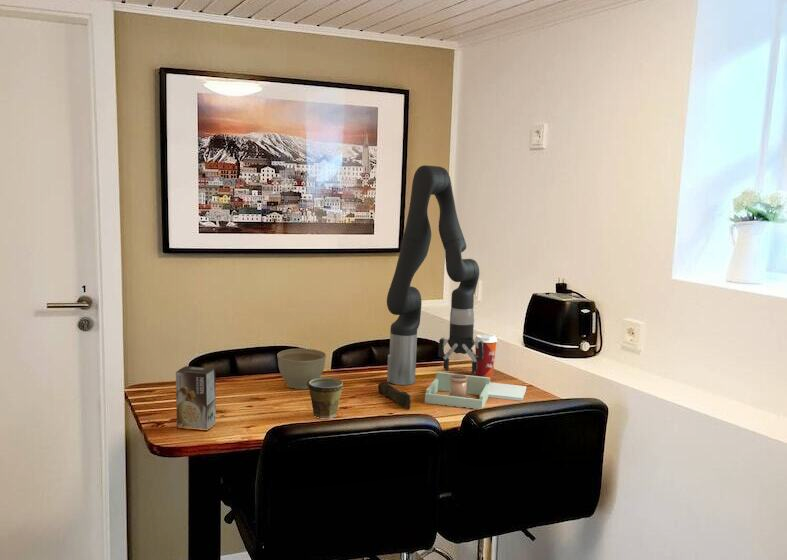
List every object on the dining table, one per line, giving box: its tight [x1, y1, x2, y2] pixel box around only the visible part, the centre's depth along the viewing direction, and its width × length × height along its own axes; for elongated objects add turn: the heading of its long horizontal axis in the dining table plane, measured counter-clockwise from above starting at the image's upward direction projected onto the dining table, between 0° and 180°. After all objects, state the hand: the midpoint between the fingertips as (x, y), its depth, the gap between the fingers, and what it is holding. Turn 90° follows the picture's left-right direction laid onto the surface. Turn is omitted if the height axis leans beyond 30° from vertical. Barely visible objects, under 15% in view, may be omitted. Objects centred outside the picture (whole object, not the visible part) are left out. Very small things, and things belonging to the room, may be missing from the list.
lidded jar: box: [449, 373, 468, 398], centre depth 220 cm, size 6×6×8 cm
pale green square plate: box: [478, 381, 527, 402], centre depth 229 cm, size 14×14×1 cm
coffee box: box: [175, 365, 217, 429], centre depth 187 cm, size 9×6×16 cm
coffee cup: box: [474, 333, 498, 380], centre depth 247 cm, size 8×8×15 cm
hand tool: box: [377, 381, 412, 410], centre depth 216 cm, size 19×4×5 cm, turn 24°
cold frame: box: [424, 371, 491, 410], centre depth 220 cm, size 18×16×6 cm
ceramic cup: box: [307, 377, 344, 419], centre depth 201 cm, size 13×10×10 cm
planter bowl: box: [276, 348, 327, 390], centre depth 228 cm, size 16×16×11 cm
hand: (460, 371), depth 219 cm, fingers open, 8 cm apart
